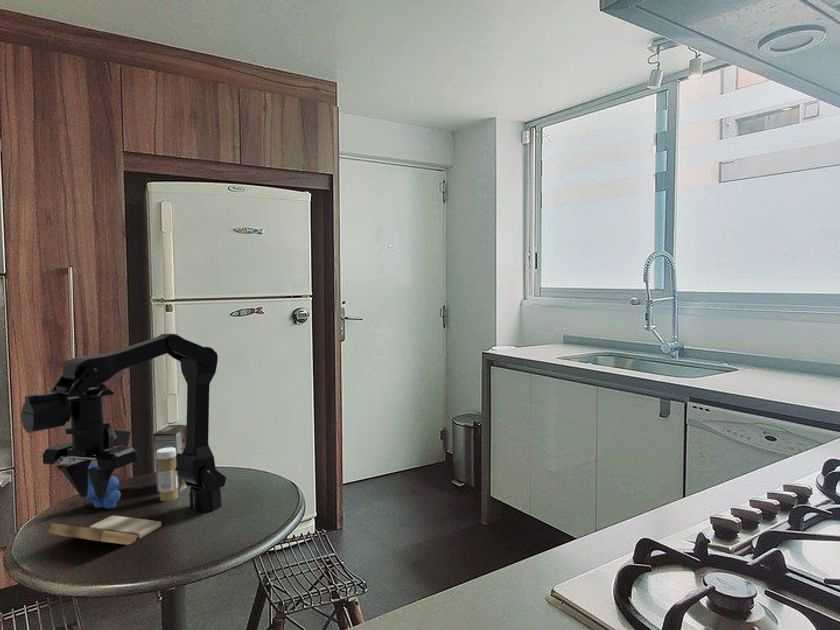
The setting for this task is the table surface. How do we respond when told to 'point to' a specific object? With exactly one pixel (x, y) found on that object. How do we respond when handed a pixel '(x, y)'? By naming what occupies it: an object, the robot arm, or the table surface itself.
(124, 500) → the table surface
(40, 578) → the table surface
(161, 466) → the sprinkles bottle
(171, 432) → the coffee box
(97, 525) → the ash board
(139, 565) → the table surface
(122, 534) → the oak plank
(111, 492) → the grapes
